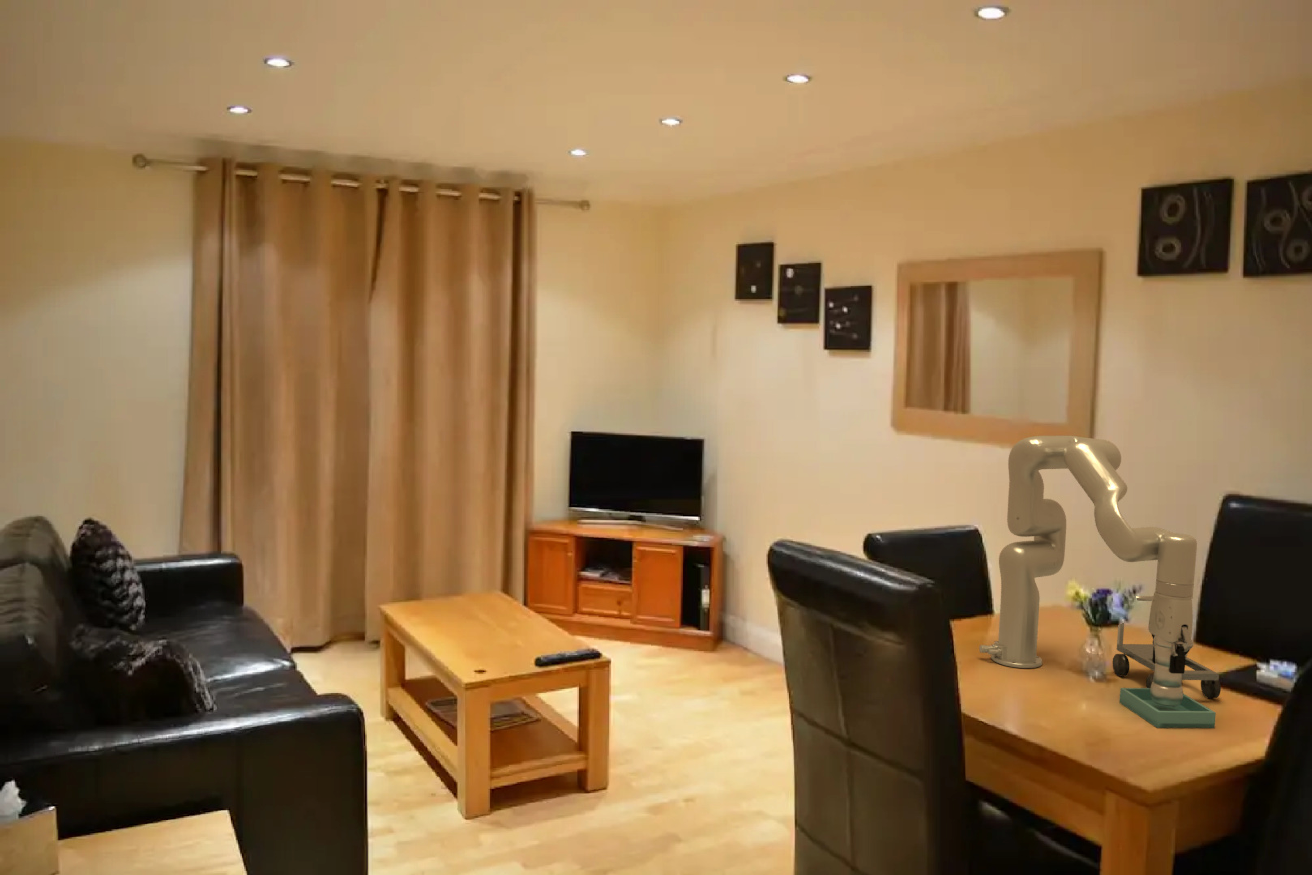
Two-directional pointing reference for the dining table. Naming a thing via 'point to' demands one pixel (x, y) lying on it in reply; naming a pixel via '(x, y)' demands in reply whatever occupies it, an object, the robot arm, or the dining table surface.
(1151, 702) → the tray
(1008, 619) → the robot arm
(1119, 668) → the trolley
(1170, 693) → the plastic bottle
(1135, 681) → the dining table surface
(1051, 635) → the dining table surface
